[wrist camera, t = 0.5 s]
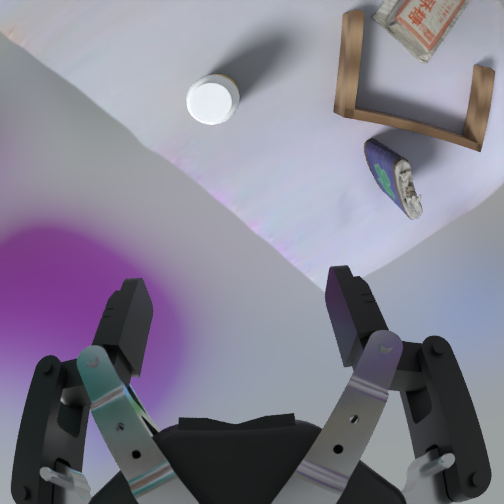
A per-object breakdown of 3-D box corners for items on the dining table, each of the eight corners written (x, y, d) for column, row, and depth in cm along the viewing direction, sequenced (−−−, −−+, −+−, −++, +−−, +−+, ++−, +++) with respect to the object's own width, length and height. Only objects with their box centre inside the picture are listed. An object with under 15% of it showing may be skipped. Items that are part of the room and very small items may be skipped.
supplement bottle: (195, 73, 30) (181, 75, 22) (240, 74, 30) (242, 75, 22) (194, 114, 33) (180, 130, 25) (237, 115, 33) (238, 131, 25)
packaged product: (439, 68, 25) (385, 13, 22) (419, 65, 29) (368, 18, 25) (484, -1, 16) (438, -52, 13) (465, 0, 20) (421, -46, 17)
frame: (343, 14, 25) (354, 9, 22) (478, 67, 27) (495, 71, 24) (333, 112, 33) (343, 117, 30) (465, 143, 35) (480, 152, 32)
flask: (395, 187, 40) (431, 222, 31) (380, 195, 41) (413, 233, 32) (375, 134, 35) (415, 160, 26) (358, 143, 36) (394, 171, 27)
